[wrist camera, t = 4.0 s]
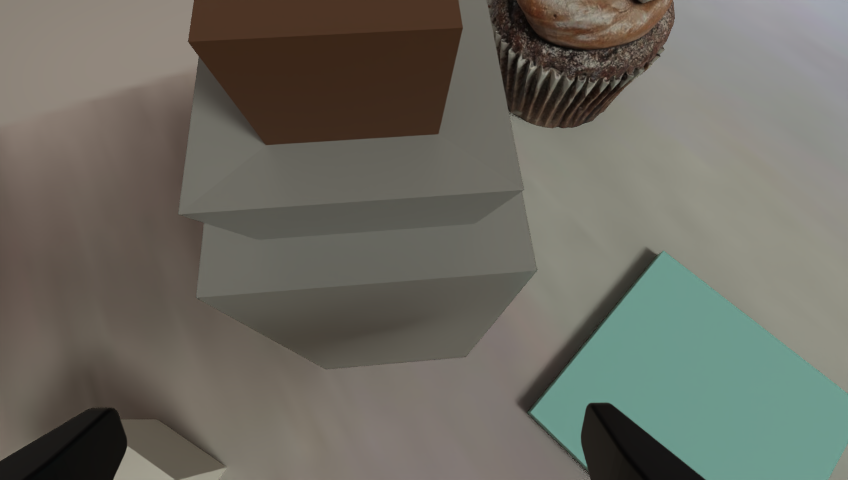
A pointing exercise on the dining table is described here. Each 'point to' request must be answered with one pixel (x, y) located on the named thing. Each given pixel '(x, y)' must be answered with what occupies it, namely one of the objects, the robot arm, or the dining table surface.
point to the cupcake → (574, 53)
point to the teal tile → (701, 385)
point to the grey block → (163, 455)
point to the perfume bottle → (355, 176)
